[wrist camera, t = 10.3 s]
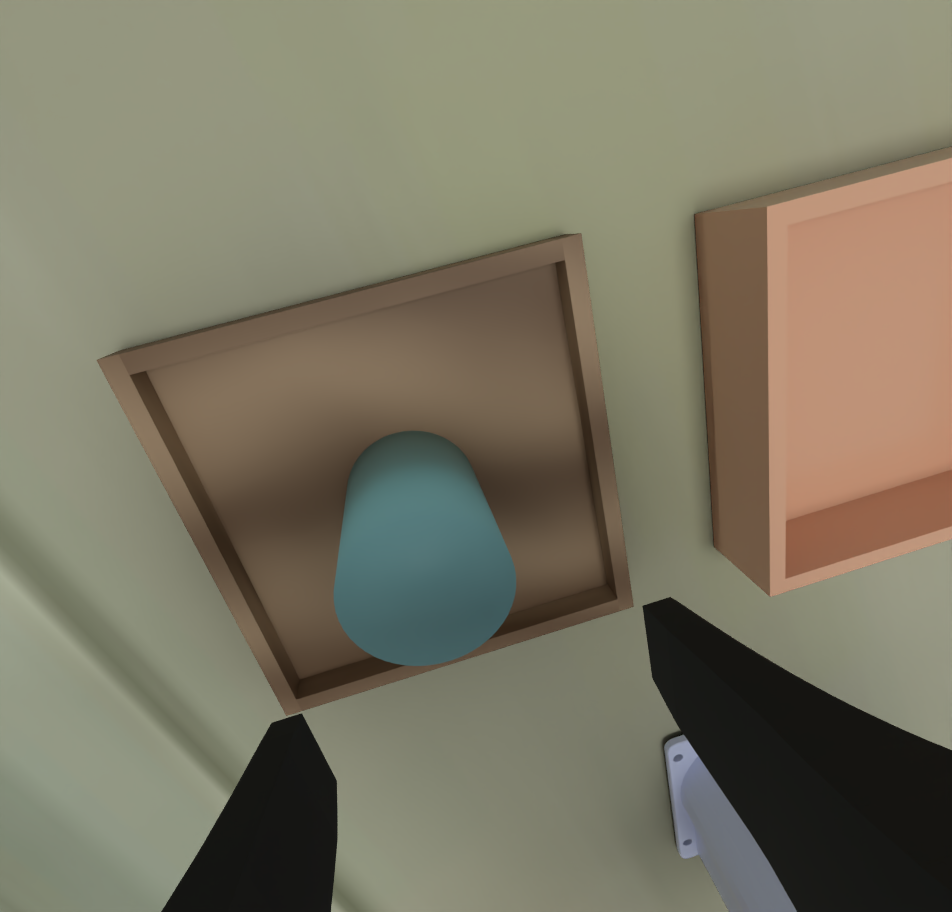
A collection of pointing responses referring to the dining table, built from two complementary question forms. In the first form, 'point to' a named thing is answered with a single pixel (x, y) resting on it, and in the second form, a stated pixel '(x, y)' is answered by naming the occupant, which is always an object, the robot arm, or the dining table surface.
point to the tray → (373, 417)
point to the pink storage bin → (830, 371)
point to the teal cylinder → (420, 554)
